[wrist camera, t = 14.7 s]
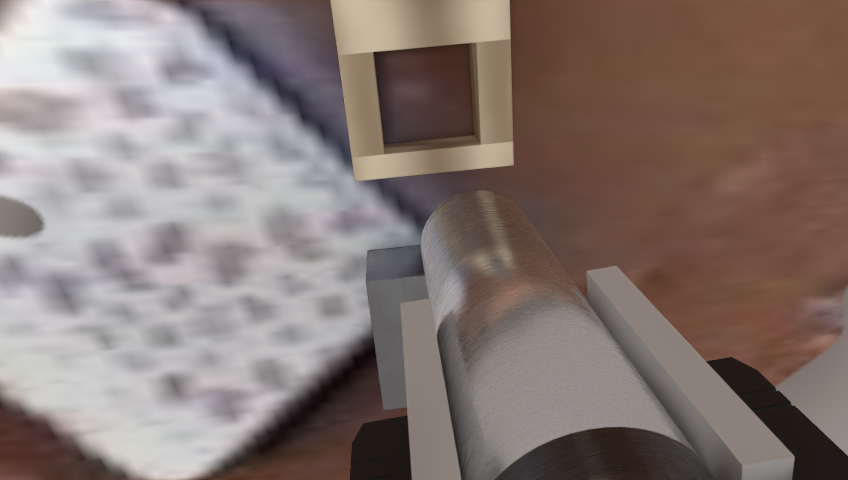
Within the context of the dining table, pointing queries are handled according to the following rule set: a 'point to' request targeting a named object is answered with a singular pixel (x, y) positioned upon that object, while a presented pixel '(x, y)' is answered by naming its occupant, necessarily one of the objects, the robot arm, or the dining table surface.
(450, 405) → the round peg
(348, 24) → the rack
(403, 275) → the socket
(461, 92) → the dining table surface
